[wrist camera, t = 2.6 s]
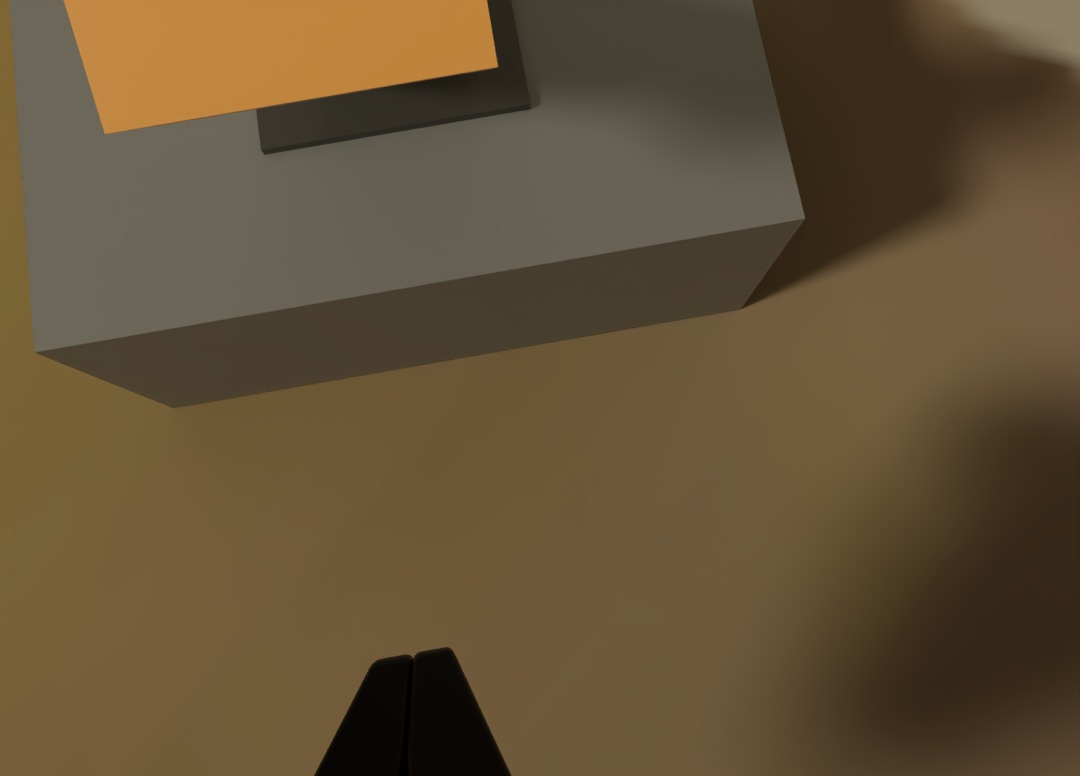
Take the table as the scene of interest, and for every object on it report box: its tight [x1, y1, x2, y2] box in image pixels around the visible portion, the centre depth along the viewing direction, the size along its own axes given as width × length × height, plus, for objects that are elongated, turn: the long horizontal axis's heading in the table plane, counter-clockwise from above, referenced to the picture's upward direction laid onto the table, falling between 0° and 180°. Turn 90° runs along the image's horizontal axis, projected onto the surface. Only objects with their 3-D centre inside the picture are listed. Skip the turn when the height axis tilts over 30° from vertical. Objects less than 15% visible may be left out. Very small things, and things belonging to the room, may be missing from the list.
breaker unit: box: [9, 0, 805, 408], centre depth 20 cm, size 10×14×6 cm
